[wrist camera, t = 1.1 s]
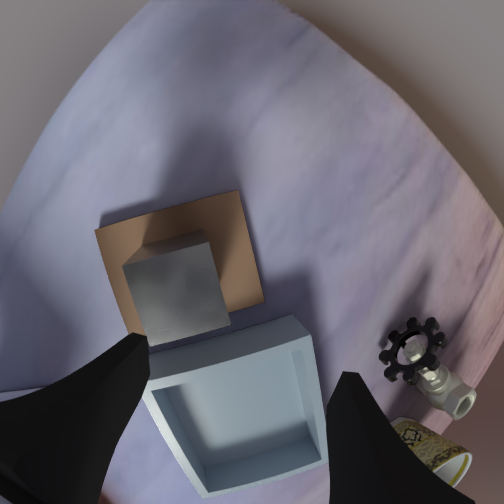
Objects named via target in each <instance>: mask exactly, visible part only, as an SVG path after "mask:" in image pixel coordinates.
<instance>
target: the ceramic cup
mask: <svg viewBox="0 0 504 504" xmlns="http://www.w3.org/2000/svg"><path fill="white" fill-rule="evenodd" d="M390 424H391V425H392V426H393V428H394V429H395V431H396V432H397V433H398V435H399V436H400V437H401V438H402V440H403V441H404V442H405V443H406V445H407V446H408V447H409V448H410V449H411V450H412V451H413V452H414V454H415V455H416V456H417V457H418V458H419V459H420V460H421V461H422V462H423V463H424V464H425V465H426V466H427V467H428V468H430V469H431V470H432V471H433V472H434V473H435V474H436V475H437V476H439V477H440V478H441V479H442V480H444V481H445V482H446V483H448V484H449V485H450V486H452V487H453V488H454V487H455V486H456V485H457V484H458V482H459V481H460V480H461V479H462V478H463V476H464V475H465V473H466V472H467V470H468V468H469V466H470V464H471V461H472V453H470V452H469V451H468V450H466V449H465V448H463V447H462V446H460V445H458V444H456V443H454V442H453V441H451V440H448V439H446V438H444V437H442V436H440V435H439V434H437V433H435V432H434V431H432V430H430V429H428V428H427V427H425V426H423V425H422V424H420V423H419V422H417V421H415V420H413V419H411V418H405V417H398V418H397V419H395V420H393V421H392V422H390Z"/></svg>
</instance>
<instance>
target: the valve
mask: <svg viewBox="0 0 504 504" xmlns="http://www.w3.org/2000/svg"><path fill="white" fill-rule="evenodd" d="M434 329H436V330H438V329H439V323H438V322H437V320H436V319H435V318H434V317H430V318H428V319H427V320H426V322H425V325H424V326H421V324H420V323H419V321H418V320H417V318H415V317H412V318H410V319H409V320H408V321H407V330H406V331H404V332H403V333H401V334H400V333H399V332H398V331H396V330H394V331H392V332H391V333H390V334H389V336H388V339H389V340H390V342H391V343H392V344H393V345H392V347H391V349H390V350H383V351H382V352H381V353H380V354H379V360H380V361H381V362H382V363H383V364H384V365H388V361H390V363H391V365H390V366H389V367H387V368H386V369H385V371H384V376H385V377H386V378H387V379H388V380H389V381H390V382H394V381H396V380H397V378H396V375H397V374H398V373H399V372H400V373H404V374H403V380H404V381H405V382H406V383H407V384H408V385H414V384H416V383H417V381H418V379H419V381H418V383H417V385H416V386H417V388H418V389H419V390H420V391H421V392H422V393H423V394H425V395H426V396H427V397H428V400H429V402H430V403H431V405H432V406H433V407H435V408H436V409H438V410H442V411H446V412H447V413H448V414H449V415H450V416H451V417H452V418H454V419H455V420H458V419H460V418H461V417H463V416H464V415H465V414H466V413H467V412H468V411H469V410H470V408H471V407H472V405H473V404H474V401H475V399H476V393H475V391H474V390H473V388H471V387H470V386H468V385H467V384H465V383H464V382H463V380H462V379H461V377H460V376H459V375H457V374H456V373H453V372H449V370H448V369H447V367H446V366H444V365H441V364H440V362H439V360H438V359H437V357H436V356H435V355H434V352H435V351H436V350H437V348H438V346H441V348H442V349H443V348H445V347H446V346H447V344H448V339H447V337H446V336H445V334H444V333H443V332H439V333H437V334H436V335H433V330H434ZM418 334H419V335H425V336H427V338H428V347H427V349H426V348H425V346H424V345H423V344H421V343H419V342H418V341H416V340H412V341H410V342H409V343H407V344H406V342H405V341H406V340H407V339H408V338H410V337H412V336H414V335H418ZM400 347H402V348H403V349H404V351H403V354H404V355H405V356H406V360H407V361H408V362H409V363H410V365H401V364H399V363H398V360H397V354H398V351H399V349H400ZM418 372H419V373H420V374H421V376H420V378H419V377H418V376H417V373H418Z"/></svg>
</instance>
